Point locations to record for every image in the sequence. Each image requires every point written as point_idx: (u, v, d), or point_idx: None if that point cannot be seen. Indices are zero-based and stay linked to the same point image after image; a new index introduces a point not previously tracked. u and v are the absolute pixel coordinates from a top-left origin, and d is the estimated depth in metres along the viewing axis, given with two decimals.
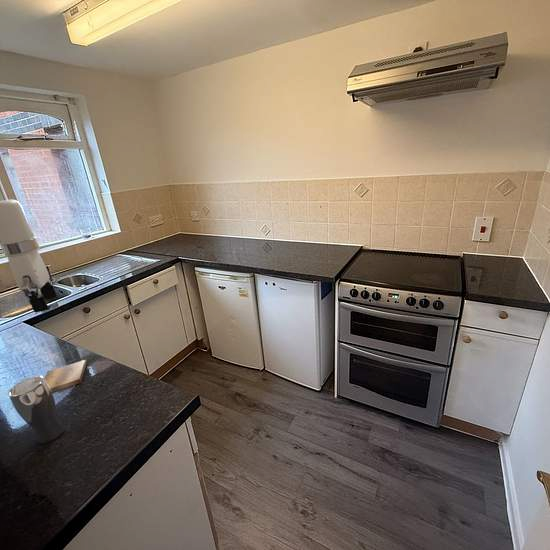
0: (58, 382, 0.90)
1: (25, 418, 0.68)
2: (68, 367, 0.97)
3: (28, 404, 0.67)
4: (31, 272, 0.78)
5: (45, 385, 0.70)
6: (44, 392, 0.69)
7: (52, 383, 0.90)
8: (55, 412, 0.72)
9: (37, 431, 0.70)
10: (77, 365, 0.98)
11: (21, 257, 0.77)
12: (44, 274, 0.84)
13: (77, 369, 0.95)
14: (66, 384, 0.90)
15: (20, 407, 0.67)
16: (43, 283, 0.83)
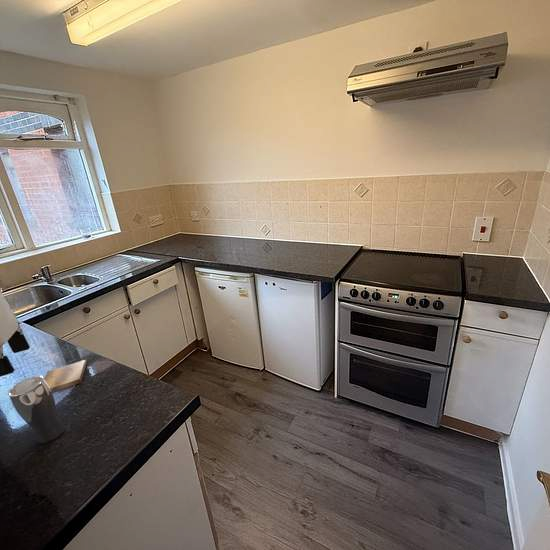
0: (58, 382, 0.90)
1: (25, 418, 0.68)
2: (68, 367, 0.97)
3: (28, 404, 0.67)
4: None
5: (45, 385, 0.70)
6: (44, 392, 0.69)
7: (52, 383, 0.90)
8: (55, 412, 0.72)
9: (37, 431, 0.70)
10: (77, 365, 0.98)
11: None
12: (9, 324, 0.64)
13: (77, 369, 0.95)
14: (66, 384, 0.90)
15: (20, 407, 0.67)
16: (7, 337, 0.62)
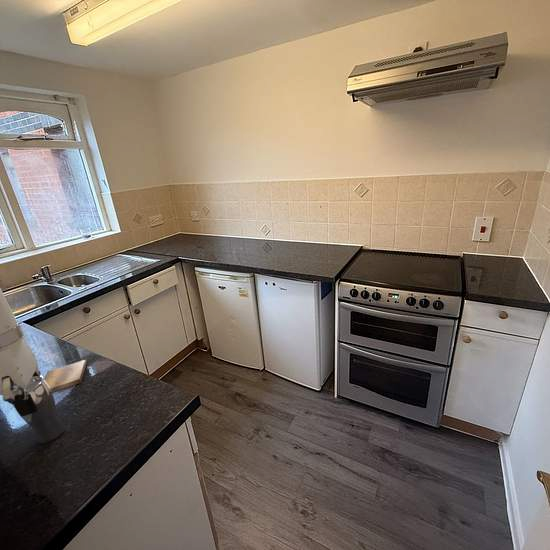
0: (58, 382, 0.90)
1: (25, 418, 0.68)
2: (68, 367, 0.97)
3: None
4: (12, 371, 0.62)
5: (45, 385, 0.70)
6: (44, 392, 0.69)
7: (52, 383, 0.90)
8: (55, 412, 0.72)
9: (37, 431, 0.70)
10: (77, 365, 0.98)
11: None
12: (30, 365, 0.68)
13: (77, 369, 0.95)
14: (66, 384, 0.90)
15: None
16: (28, 379, 0.66)
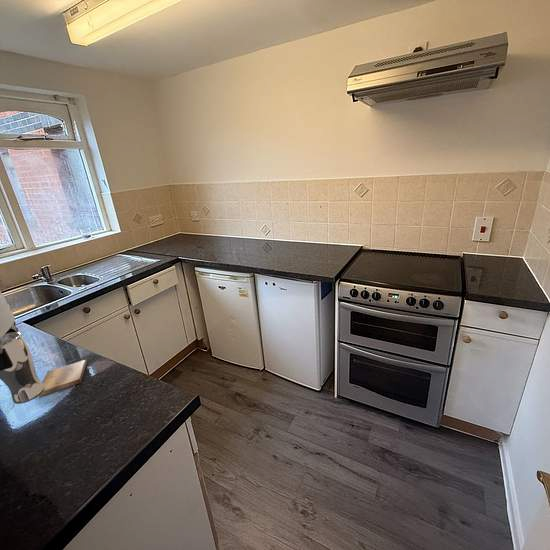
0: (58, 382, 0.90)
1: (0, 375, 0.64)
2: (68, 367, 0.97)
3: None
4: None
5: (22, 341, 0.66)
6: (21, 348, 0.65)
7: (52, 383, 0.90)
8: (33, 371, 0.68)
9: (13, 390, 0.66)
10: (77, 365, 0.98)
11: None
12: (6, 319, 0.64)
13: (77, 369, 0.95)
14: (66, 384, 0.90)
15: None
16: (3, 332, 0.62)
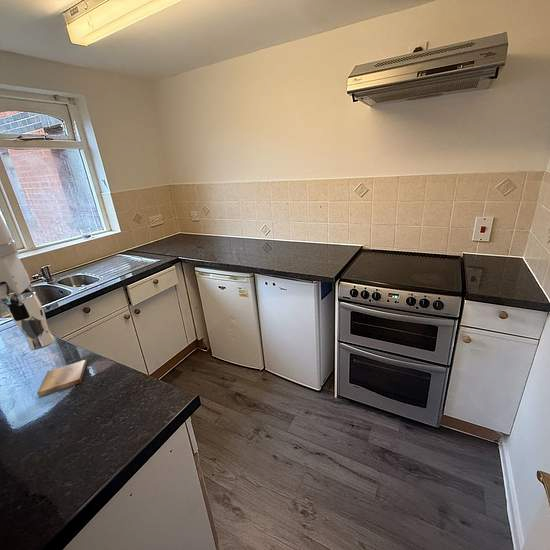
0: (58, 382, 0.90)
1: (19, 324, 0.80)
2: (68, 367, 0.97)
3: None
4: (8, 278, 0.74)
5: (37, 299, 0.82)
6: (36, 304, 0.81)
7: (52, 383, 0.90)
8: (45, 324, 0.84)
9: (29, 338, 0.82)
10: (77, 365, 0.98)
11: None
12: (24, 280, 0.80)
13: (77, 369, 0.95)
14: (66, 384, 0.90)
15: None
16: (22, 289, 0.78)
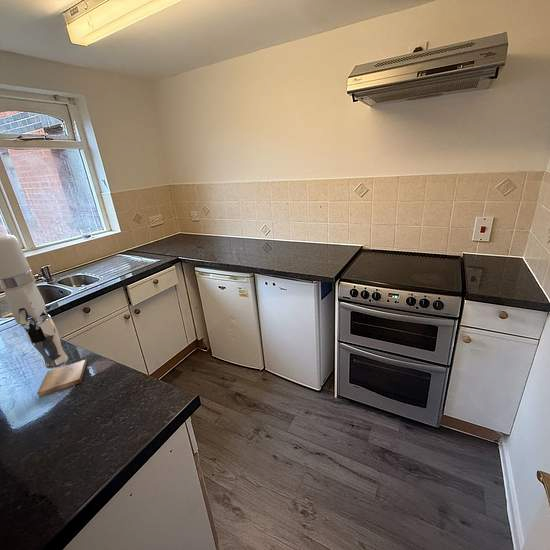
0: (58, 382, 0.90)
1: (36, 346, 0.86)
2: (68, 367, 0.97)
3: None
4: (27, 304, 0.80)
5: (52, 321, 0.88)
6: (51, 326, 0.87)
7: (52, 383, 0.90)
8: (60, 345, 0.90)
9: (45, 358, 0.88)
10: (77, 365, 0.98)
11: (17, 291, 0.79)
12: (40, 304, 0.86)
13: (77, 369, 0.95)
14: (66, 384, 0.90)
15: None
16: (39, 314, 0.84)
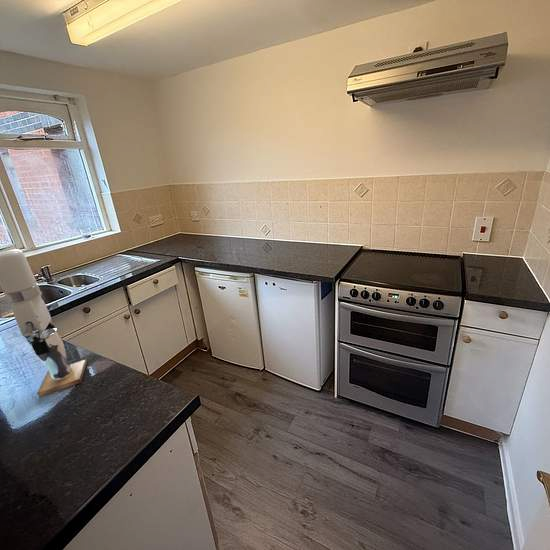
0: (58, 382, 0.90)
1: (42, 359, 0.88)
2: None
3: None
4: (33, 318, 0.82)
5: (58, 335, 0.90)
6: (57, 340, 0.89)
7: (52, 383, 0.90)
8: (65, 357, 0.92)
9: (51, 371, 0.90)
10: (77, 365, 0.98)
11: (24, 305, 0.80)
12: (46, 317, 0.88)
13: (77, 369, 0.95)
14: (66, 384, 0.90)
15: None
16: (45, 327, 0.86)
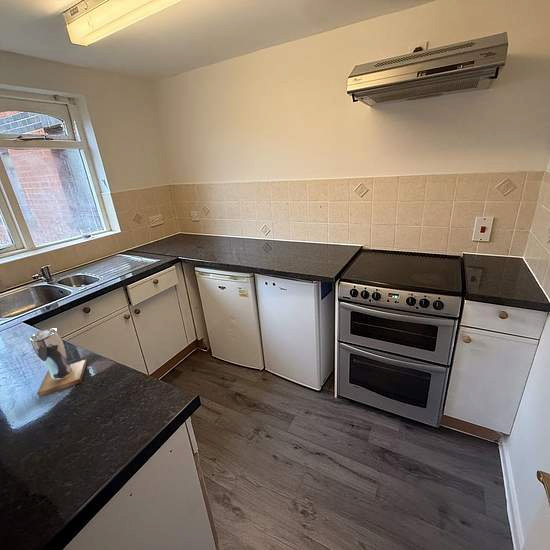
0: (58, 382, 0.90)
1: (42, 359, 0.88)
2: None
3: (45, 348, 0.86)
4: None
5: (58, 335, 0.90)
6: (57, 340, 0.89)
7: (52, 383, 0.90)
8: (65, 357, 0.92)
9: (51, 371, 0.90)
10: (77, 365, 0.98)
11: None
12: None
13: (77, 369, 0.95)
14: (66, 384, 0.90)
15: (39, 350, 0.86)
16: None
